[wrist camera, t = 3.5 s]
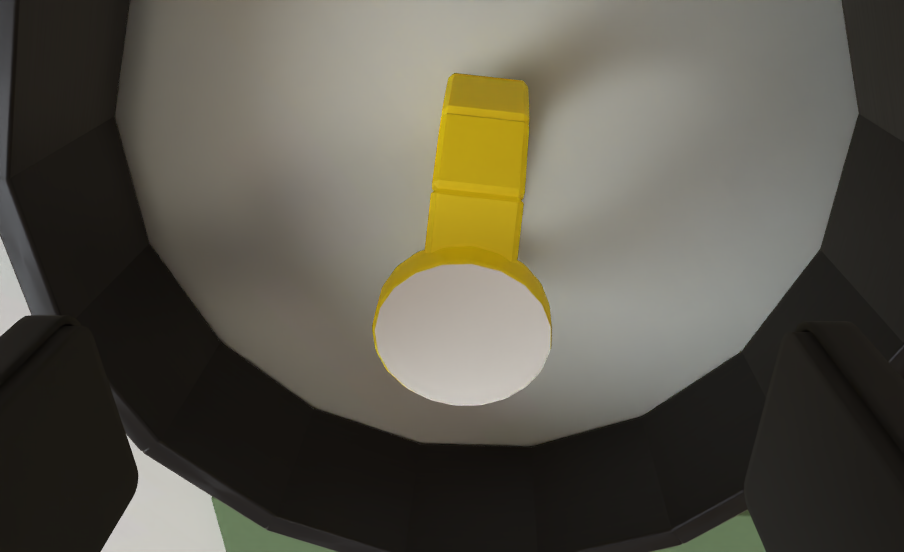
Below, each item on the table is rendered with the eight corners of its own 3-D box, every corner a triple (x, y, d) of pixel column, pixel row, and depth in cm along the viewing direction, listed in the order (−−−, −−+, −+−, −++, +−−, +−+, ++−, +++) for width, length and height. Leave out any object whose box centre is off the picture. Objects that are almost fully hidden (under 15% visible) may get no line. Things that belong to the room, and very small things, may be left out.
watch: (422, 40, 14) (378, 130, 9) (557, 55, 14) (592, 154, 9) (405, 288, 17) (366, 465, 12) (516, 301, 17) (524, 483, 12)
